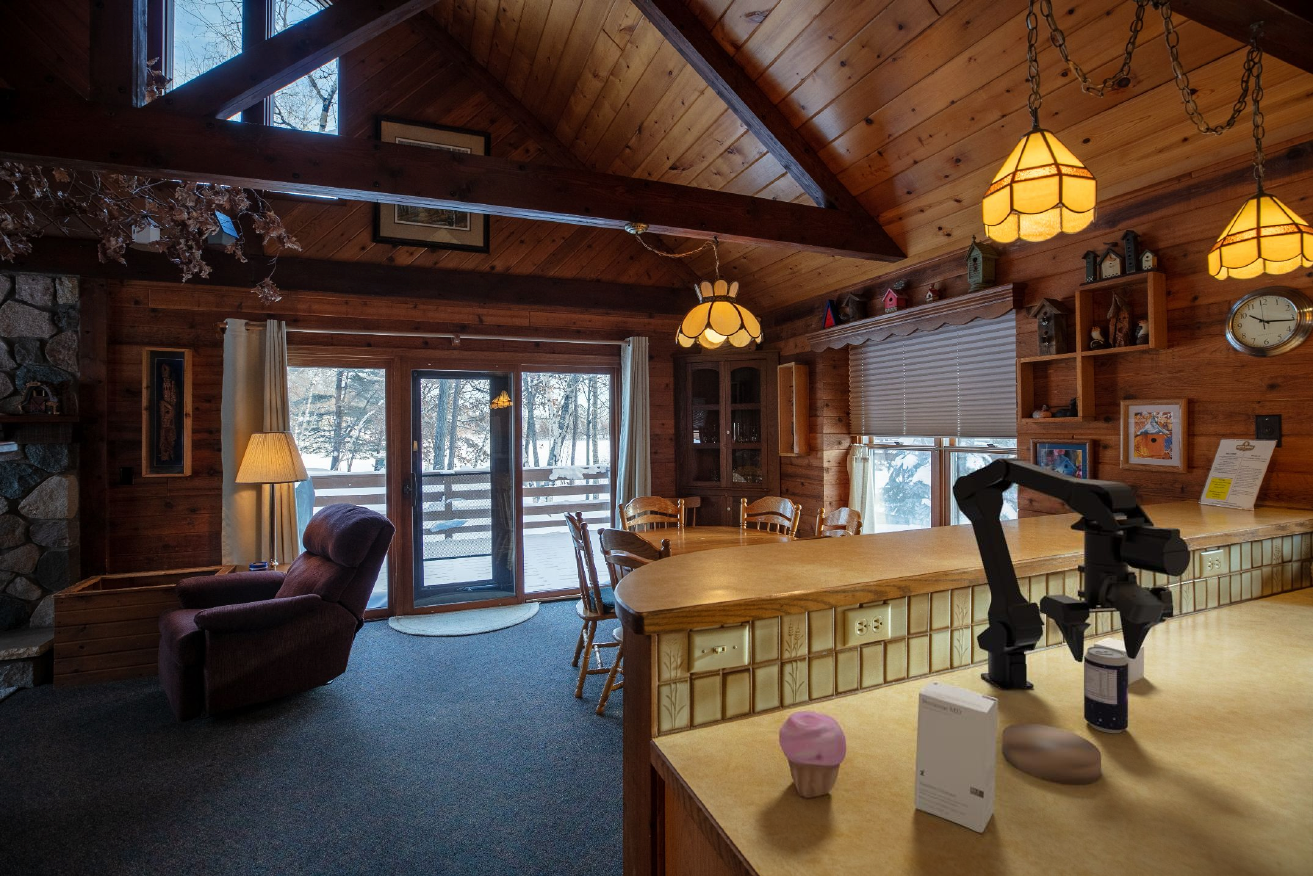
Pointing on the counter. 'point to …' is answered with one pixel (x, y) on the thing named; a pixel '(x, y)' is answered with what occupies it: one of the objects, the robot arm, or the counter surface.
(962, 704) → the skincare box
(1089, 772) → the walnut base
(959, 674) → the counter surface
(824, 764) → the cupcake
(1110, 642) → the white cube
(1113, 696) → the beverage can
